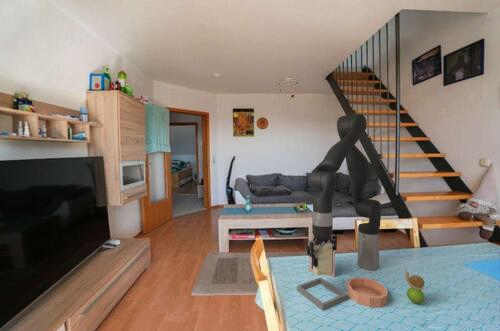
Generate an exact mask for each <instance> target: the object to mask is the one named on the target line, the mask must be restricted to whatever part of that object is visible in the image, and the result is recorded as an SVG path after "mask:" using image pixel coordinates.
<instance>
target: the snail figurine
mask: <svg viewBox="0 0 500 331" xmlns="http://www.w3.org/2000/svg"><path fill="white" fill-rule="evenodd" d="M404 276H405V280H406V282H407V284H408V286H410V287H409V288H407V291H406V297H407V298H408V300H410V302H412V303H414V304H418V305H419V304H422V303H423V302H424V301H425V294H424V292H423V291H422V290H425V287H424V286H425V284H426V283H425V280H424V279H423V278H422V277H421V276H419V275H416V274H413V275H411V276H410V272H409V271H407V268H406V267H405V268H404Z"/></svg>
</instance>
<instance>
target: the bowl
mask: <svg viewBox="0 0 500 331" xmlns="http://www.w3.org/2000/svg"><path fill="white" fill-rule="evenodd" d="M346 294H348V297H349V298H350V300H352V301H353V302H355V303H357V304H359V305H362V306H364V307H368V308H383V307H384V306H387V305H388V289H387V288H386V286H384V284H382V283H380V282H378V281H377V280H374V279H370V278H367V277H358V276H357V277H356V276H355V277H352V278H350V279H348V280H347V282H346Z"/></svg>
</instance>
